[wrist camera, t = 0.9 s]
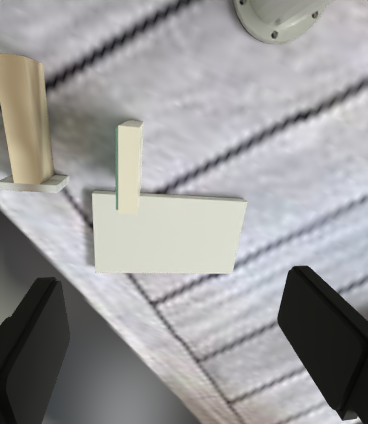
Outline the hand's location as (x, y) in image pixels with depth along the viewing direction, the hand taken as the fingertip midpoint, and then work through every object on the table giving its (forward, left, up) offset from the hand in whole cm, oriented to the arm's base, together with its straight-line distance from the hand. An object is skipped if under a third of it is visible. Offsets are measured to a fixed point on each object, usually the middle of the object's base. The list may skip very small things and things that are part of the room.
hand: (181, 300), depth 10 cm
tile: (-1, -4, -29) cm, 29 cm away
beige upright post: (-3, -17, -29) cm, 33 cm away
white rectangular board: (+12, +2, -29) cm, 31 cm away
